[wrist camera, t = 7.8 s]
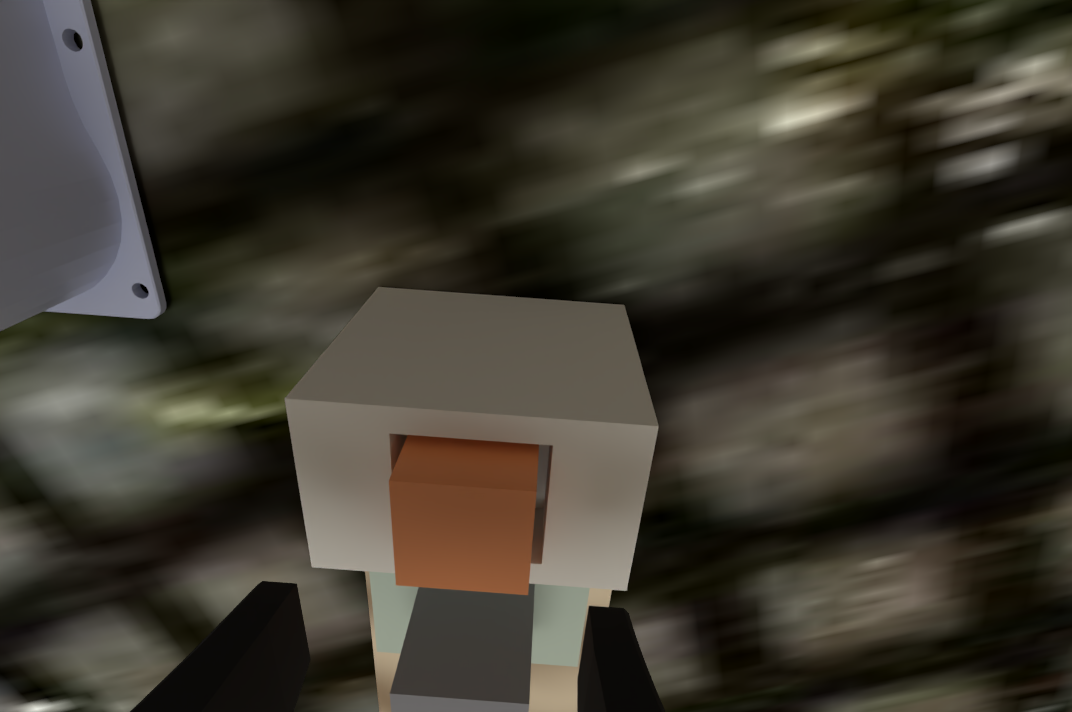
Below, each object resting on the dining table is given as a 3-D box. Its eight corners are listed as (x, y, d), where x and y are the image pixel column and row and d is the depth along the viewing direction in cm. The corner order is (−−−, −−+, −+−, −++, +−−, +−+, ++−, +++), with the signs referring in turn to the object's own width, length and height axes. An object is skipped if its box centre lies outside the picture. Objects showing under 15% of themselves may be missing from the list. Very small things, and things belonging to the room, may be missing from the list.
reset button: (413, 420, 13) (388, 480, 11) (539, 430, 13) (536, 492, 11) (417, 516, 15) (396, 585, 13) (532, 525, 15) (528, 595, 13)
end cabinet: (378, 286, 18) (284, 398, 12) (636, 305, 18) (677, 427, 12) (387, 416, 20) (311, 566, 14) (616, 433, 20) (642, 591, 14)
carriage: (390, 459, 19) (311, 642, 13) (591, 474, 19) (607, 664, 13) (398, 582, 22) (336, 781, 16) (575, 595, 22) (581, 799, 16)
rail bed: (359, 414, 20) (317, 486, 17) (633, 434, 20) (648, 511, 17) (387, 718, 29) (363, 808, 25) (581, 732, 29) (585, 825, 25)
